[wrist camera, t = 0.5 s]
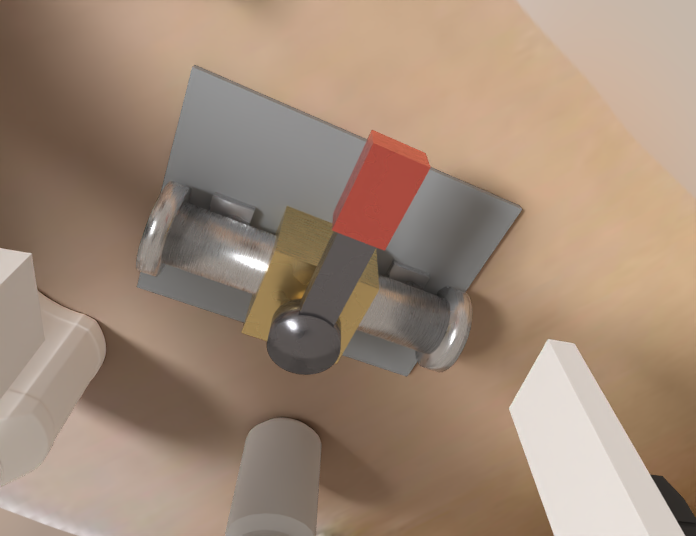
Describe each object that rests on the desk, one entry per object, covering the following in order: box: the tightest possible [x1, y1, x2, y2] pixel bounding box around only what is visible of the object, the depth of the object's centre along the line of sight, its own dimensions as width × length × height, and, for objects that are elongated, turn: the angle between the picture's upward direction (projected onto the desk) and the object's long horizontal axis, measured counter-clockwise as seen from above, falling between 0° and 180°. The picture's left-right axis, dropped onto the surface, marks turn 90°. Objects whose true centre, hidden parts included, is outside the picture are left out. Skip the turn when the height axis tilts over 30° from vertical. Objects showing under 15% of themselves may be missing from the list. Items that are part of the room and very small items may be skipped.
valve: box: [136, 181, 473, 372], centre depth 35 cm, size 22×7×8 cm, turn 67°
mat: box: [137, 65, 522, 376], centre depth 38 cm, size 24×18×1 cm
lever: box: [267, 130, 431, 375], centre depth 28 cm, size 15×4×2 cm, turn 156°
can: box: [225, 417, 322, 536], centre depth 45 cm, size 8×8×12 cm
